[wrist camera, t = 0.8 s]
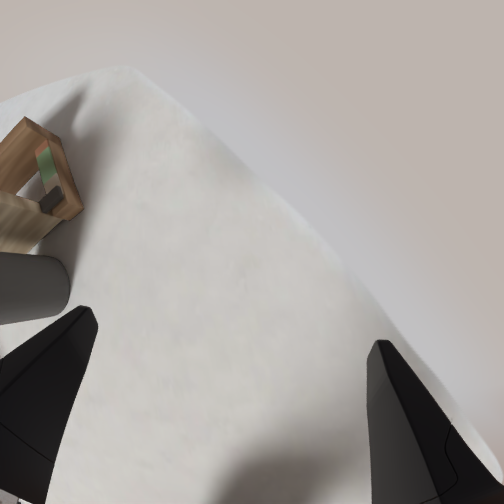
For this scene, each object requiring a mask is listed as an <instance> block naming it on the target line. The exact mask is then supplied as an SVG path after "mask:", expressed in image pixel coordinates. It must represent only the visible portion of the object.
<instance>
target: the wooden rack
mask: <svg viewBox="0 0 504 504" xmlns="http://www.w3.org/2000/svg"><path fill="white" fill-rule="evenodd" d="M38 170H39V171H40V174H41V178H42V182H43V185H44V189H45V192H46V195H47V194H48V193H49V192H50V191H51V190H52V189H53V188H54V187H55V186H56V185H57V186H59V187H61V190H62V193H63V196H64V198H63V199H62V200H61V201H60V202H59V203H58V204H57V205H56V206H54V207H53V208H52V209H51V210H52V213H53V216H54V217H57V218H61V219H64V220H68V221H70V220H71V219H73V218H74V217H75V216H76V215H77V214H78V213H80V212H81V211H82V210H83V209H84V207H83V205H82V202H81V199H80V197H79V194H78V191H77V189H76V186H75V183H74V181H73V178H72V175H71V172H70V169H69V166H68V163H67V160H66V157H65V154H64V151H63V148H62V145H61V141H60V138H59V137H57V136H56V135H54V134H52V133H51V132H49V131H48V130H46V129H44V128H43V127H41V126H40V125H38V124H36V123H35V122H33V121H32V120H30V119H28V118H27V117H24V118H23V119H22V120H21V121H20V122H19V123H18V124H17V125H16V126H15V127H14V128H13V129H12V130H11V132H10V133H9V134H8V135H7V136H6V137H5V138H4V139H3V141H2V142H1V143H0V191H3V192H6V193H9V194H13V195H15V194H16V193H17V192H18V191H19V190H20V189H21V188H22V187H23V186H24V185H25V184H26V183H27V181H28V180H29V179H30V178H31V177H32V176H33V175H34V174H35V173H36V172H37V171H38Z"/></svg>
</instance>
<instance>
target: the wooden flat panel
mask: <svg viewBox="0 0 504 504" xmlns="http://www.w3.org/2000/svg"><path fill="white" fill-rule="evenodd" d="M63 198H64V196H63V193H62V190H61V187H59V186H57V185H56V186H55V187H54V188H53V189H52V190H51V191H50V192H49V193H48V194H47V195H46V196H44V197H43V198H42V199H41V200H40V201H39V203H38V202H35V201H32V200H29V199H25V198H22V197H19V196H16V195H13V194H9V193H6V192H3V191H0V252H10V253H20V254H27V253H28V252H29V251H30V250H31V249H32V248H33V247H34V246H35V245H36V244H37V243H38V242H39V241H40V240H41V239H42V238H43V237H44V236H45V235H46V234H47V233H48V232H49V231H50V230H52V229H53V228H54V227H55V226H56V225H57V224H58V223H59V222H60V221H61V220H63V219H61V218H57V217H54V216H53V213H52V210H51V209H52V208H53V207H54V206H56V205H57V204H58V203H59V202H60V201H61V200H62V199H63Z"/></svg>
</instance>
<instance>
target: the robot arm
mask: <svg viewBox="0 0 504 504" xmlns="http://www.w3.org/2000/svg"><path fill="white" fill-rule="evenodd" d="M97 332H98V323H97V321H96V318H95V316H94V314H93V311H92V309H91V308H90V307H87V306H82V305H80V306H78V307H76V308H74V309H73V310H71V311H70V312H68V313H67V314H65V315H64V316H62V317H61V318H59V319H58V320H56V321H55V322H53V323H52V324H50V325H49V326H48V327H46V328H45V329H43V330H42V331H40V332H39V333H37V334H36V335H34V336H33V337H32V338H30V339H29V340H27V341H26V342H24V343H23V344H21V345H20V346H19V347H17V348H16V349H14V350H13V351H12V352H10V353H9V354H7V355H6V356H5V357H4V358H2V359H0V504H21V503H20V502H19V498H20V499H23V500H25V501H27V502H30V503H32V504H45V502H46V497H47V493H48V488H49V484H50V480H51V476H52V472H53V468H54V465H55V464H54V463H55V461H56V457H57V454H58V450H59V447H60V443H61V440H62V437H63V434H64V430H65V427H66V424H67V421H68V418H69V415H70V412H71V409H72V407H73V404H74V401H75V398H76V395H77V393H78V390H79V387H80V384H81V382H82V379H83V377H84V374H85V371H86V368H87V365H88V362H89V359H90V355H91V352H92V348H93V345H94V342H95V338H96V335H97ZM367 417H368V429H369V443H370V459H371V485H372V504H504V485H502V484H501V483H499V482H498V481H497V480H496V479H495V478H494V476H493V475H492V474H491V473H490V472H489V471H488V469H487V468H486V467H485V466H484V465H483V463H482V462H481V461H480V460H479V459H478V458H477V456H476V455H475V454H474V453H473V452H472V450H471V449H470V448H469V447H468V445H467V444H466V443H465V441H464V440H463V439H462V437H461V436H460V435H459V433H458V432H457V430H456V429H455V427H454V426H453V425H452V424H451V422H450V420H449V419H448V418H447V416H446V415H445V413H444V412H443V411H442V409H441V408H440V406H439V405H438V404H437V402H436V401H435V400H434V398H433V397H432V395H431V394H430V393H429V391H428V390H427V389H426V387H425V386H424V385H423V383H422V382H421V381H420V379H419V378H418V377H417V375H416V374H415V373H414V371H413V370H412V369H411V367H410V366H409V365H408V364H407V362H406V361H405V360H404V358H403V357H402V356H401V354H400V353H399V352H398V351H397V349H396V348H395V347H394V345H393V344H392V343H391V342H390V341H389V340H376V341H375V343H374V344H373V347H372V349H371V351H370V353H369V355H368V358H367Z"/></svg>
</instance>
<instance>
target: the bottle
mask: <svg viewBox="0 0 504 504" xmlns="http://www.w3.org/2000/svg"><path fill="white" fill-rule="evenodd" d="M69 292H70V285H69V279H68V275H67V272H66V270H65V268H64V266H63V265H62V264H61V263H60V261H58V260H57V259H55V258H53V257H49V256H40V255H30V254H20V253H10V252H0V325H4V324H10V323H17V322H23V321H29V320H35V319H41V318H46V317H51V316H55V315H58V314H59V313H61V312H62V311H63V310H64V308H65V306H66V304H67V302H68V298H69Z"/></svg>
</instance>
